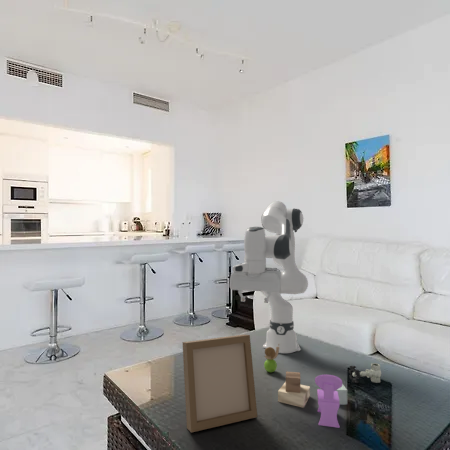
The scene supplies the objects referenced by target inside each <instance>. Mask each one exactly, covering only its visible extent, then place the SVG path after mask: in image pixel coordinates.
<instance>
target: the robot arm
mask: <svg viewBox="0 0 450 450" xmlns="http://www.w3.org/2000/svg"><path fill="white" fill-rule="evenodd" d="M260 223H261V226H262V227H261V226H250V227H247V228H246V229H245V234H244V241H243V250H244V257H243V262H242V263H239V264H235V265H233V266H232V273H231V274H230V277H229V288H230V290H231V291H237V293H238V295H239V297H240V302H244V303H245V302H246V296H244V295H243V291H249V292H262V293H263V294H264V295H265V297H264V299H263V300H264V303H265V304H269V308H270V320H269V329H268V330H267V331H266V341H265V343H264V344H263V345H262V348H264V349H266V348H267V347H272V348H273V349H274V350H275V353H276V347H279V352H278V354H292V353H294V352H300V351H301V347H300V345H299V343H298V340H297V333H296V331H295V330H294V326H295V324H294V318H293V317H294V316H293V314H294V312H293V311H294V308H293V304H292V303H290V302H289V301H288V300H286V299H284V298H283V297H282V294H283V295H287V294H288V295H300V294H304V293H305V292H306V291H307V289H308V287H309V280H308V278H307V276H306V275H305V274H304V273H303V272H301V271H300V269H299V268H298V266H297V264H296V258H295V252H296V251H295V250H296V238H295V233H297V232H298V230H300V228H302V226H303V223H304V215H303V212H302V210H300V209H299V208H287V205H286V204H285V203H284V202H282V201H280V200H274V201H273V202H271V203H270V204H269V205H268V206H267V207H266V208H265V209H264V211H263V212H262V215H261V220H260ZM266 231H267V232H269V233H270V234H269V235H268V234H266ZM271 233H272V234H271ZM273 234H275V235H273ZM267 259H272V261H273V262H274V263H275V264H276V265H277V266H279V267H280V268H283V271H281V270H280V269H278V268H277V267H267ZM278 344H279V345H278Z"/></svg>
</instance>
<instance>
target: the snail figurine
mask: <svg viewBox="0 0 450 450" xmlns="http://www.w3.org/2000/svg"><path fill="white" fill-rule="evenodd" d="M278 345H279V344H278ZM278 352H279V347H276V352H275V350H274V349H273V348H272V347H267V348H264V358H265V359H266V360H265V361H264V363H263V368H264V369H265V370H266V372H267V373H273V372H275V371H277V368H278V363H277V361H276V360H275V359H277V357H278V355H279V353H278Z"/></svg>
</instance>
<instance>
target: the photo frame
mask: <svg viewBox="0 0 450 450" xmlns="http://www.w3.org/2000/svg"><path fill="white" fill-rule="evenodd" d="M251 344H252V343H251V336H250V334H239V335H228V336H221V337H214V338H213V337H212V338H206V339H198V340H188V341H182V356H183V357H182V359H183V376H184V377H183V378H184V397H185V416H186V417H185V418H186V429H187V430H188V431H189V432H190V433H191V434H192V433H194V432H195V433H196V432H199V431H203V430H207V429H213V428H216V427H220V426H225V425H229V424H234V423H238V422H241V421H242V422H243V421H246V420H250V419H254V418H258V410H257V409H258V407H257V397H256V385H255V376H254V365H253V356H252V355H253V354H252V346H251Z"/></svg>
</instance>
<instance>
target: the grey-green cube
mask: <svg viewBox="0 0 450 450" xmlns="http://www.w3.org/2000/svg"><path fill="white" fill-rule="evenodd" d="M335 391H338V396H339V404H340V405H348V389H347V388H346V386H345V385H344V384H343V383H342V387H341V388H339V389H337V390H335Z"/></svg>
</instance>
